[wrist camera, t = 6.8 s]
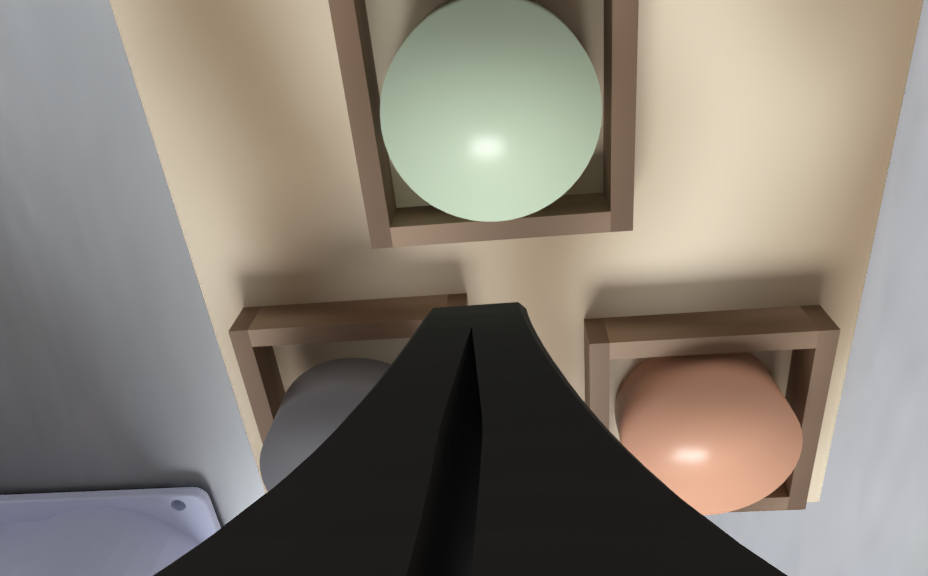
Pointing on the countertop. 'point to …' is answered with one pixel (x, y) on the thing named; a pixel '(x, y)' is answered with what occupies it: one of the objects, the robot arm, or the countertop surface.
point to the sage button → (491, 108)
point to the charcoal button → (315, 412)
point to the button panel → (555, 226)
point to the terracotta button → (710, 428)
